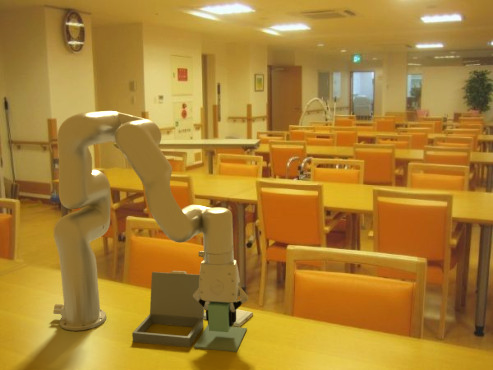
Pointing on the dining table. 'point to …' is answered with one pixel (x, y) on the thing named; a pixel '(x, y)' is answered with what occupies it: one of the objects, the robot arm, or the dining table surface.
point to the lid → (175, 294)
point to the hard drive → (239, 317)
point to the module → (218, 316)
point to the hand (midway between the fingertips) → (221, 322)
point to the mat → (221, 339)
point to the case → (167, 339)
